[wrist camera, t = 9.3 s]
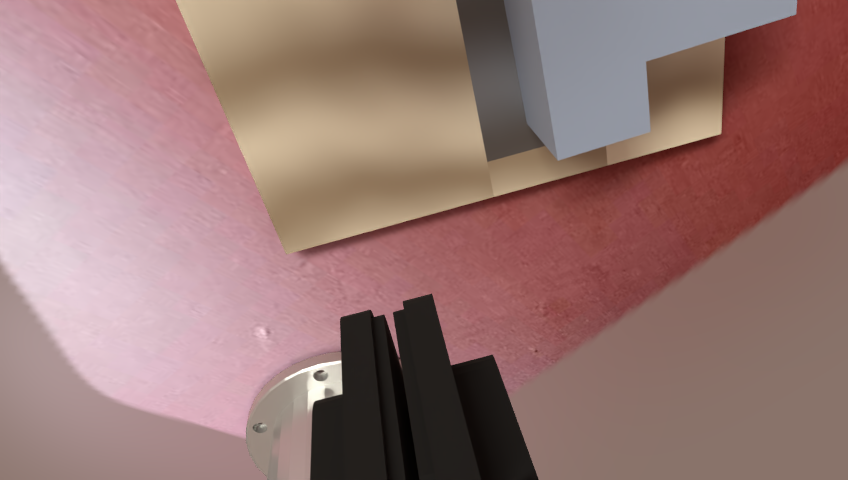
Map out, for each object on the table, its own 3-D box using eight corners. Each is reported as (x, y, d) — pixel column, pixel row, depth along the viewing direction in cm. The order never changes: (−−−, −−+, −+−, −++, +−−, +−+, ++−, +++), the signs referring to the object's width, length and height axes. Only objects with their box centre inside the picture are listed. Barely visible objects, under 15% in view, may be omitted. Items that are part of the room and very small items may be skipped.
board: (708, 125, 31) (721, 133, 30) (287, 242, 31) (286, 254, 30) (718, -257, 23) (736, -264, 22) (142, -97, 23) (133, -96, 22)
